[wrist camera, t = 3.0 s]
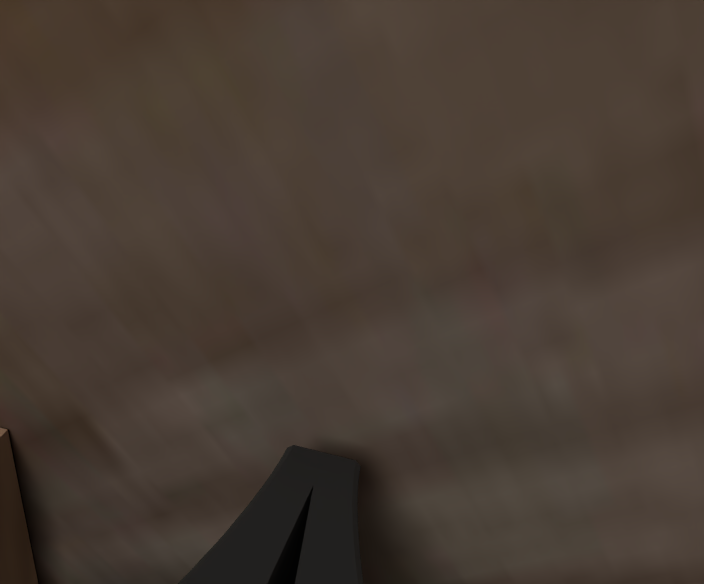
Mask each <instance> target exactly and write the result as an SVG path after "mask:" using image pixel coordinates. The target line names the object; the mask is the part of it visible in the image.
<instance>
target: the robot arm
mask: <svg viewBox="0 0 704 584" xmlns="http://www.w3.org/2000/svg"><path fill="white" fill-rule="evenodd" d="M360 468H361V466H360V465H359V464H358V462H357V461H356V460H352V459H348V458H344V457H340V456H336V455H332V454H328V453H324V452H320V451H316V450H312V449H308V448H303V447H299V446H295V445H293V446H291V447H288V448H287V449H286V451H285V453H284V455H283V457H282V458H281V460H280V461H279V463H278V465H277V466H276V468H275V469H274V471H273V472H272V474H271V475H270V477H269V478H268V479H267V481H266V482H265V484H264V485H263V486H262V488H261V489H260V490H259V492H258V493H257V494H256V496H255V497H254V498H253V500H252V501H251V502H250V503H249V505H248V506H247V507H246V508H245V510H244V511H243V512H242V513H241V515H240V516H239V517H238V518H237V519H236V521H235V522H234V523H233V524H232V526H231V527H230V528H229V529H228V530H227V532H226V533H225V534H224V535H223V536H222V537H221V538H220V539H219V541H218V542H217V543H216V544H215V545H214V546H213V547H212V548H211V549H210V550H209V551H208V553H207V554H206V555H205V556H204V557H203V558H202V559H201V560H200V561H199V562H198V563H197V565H196V566H195V567H194V568H193V569H192V570H191V571H190V572H189V573H188V574H187V575H186V576H185V577H184V578H183V579H182V580H181V581H180V582H179V583H178V584H363V577H362V568H361V558H360V548H359V536H358V512H357V498H358V481H359V473H360Z"/></svg>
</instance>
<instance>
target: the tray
mask: <svg viewBox="0 0 704 584" xmlns="http://www.w3.org/2000/svg"><path fill="white" fill-rule="evenodd" d="M0 584H38V580H37V575H36V570H35V565H34V560H33V554H32V549H31V544H30V539H29V534H28V529H27V524H26V519H25V514H24V509H23V504H22V499H21V494H20V489H19V484H18V479H17V474H16V469H15V464H14V459H13V454H12V449H11V444H10V439H9V434H8V430H7V429H3V428H0Z"/></svg>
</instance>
